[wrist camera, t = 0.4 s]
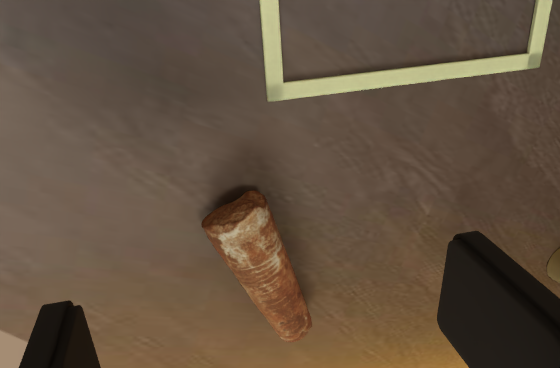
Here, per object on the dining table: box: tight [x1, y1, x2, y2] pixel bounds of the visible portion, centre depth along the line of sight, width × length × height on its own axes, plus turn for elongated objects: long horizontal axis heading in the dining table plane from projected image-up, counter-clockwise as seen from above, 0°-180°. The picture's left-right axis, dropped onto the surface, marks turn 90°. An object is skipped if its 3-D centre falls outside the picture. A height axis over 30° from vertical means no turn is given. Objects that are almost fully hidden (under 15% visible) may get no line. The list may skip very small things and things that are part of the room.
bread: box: [202, 190, 312, 342], centre depth 44 cm, size 6×19×6 cm, turn 20°
